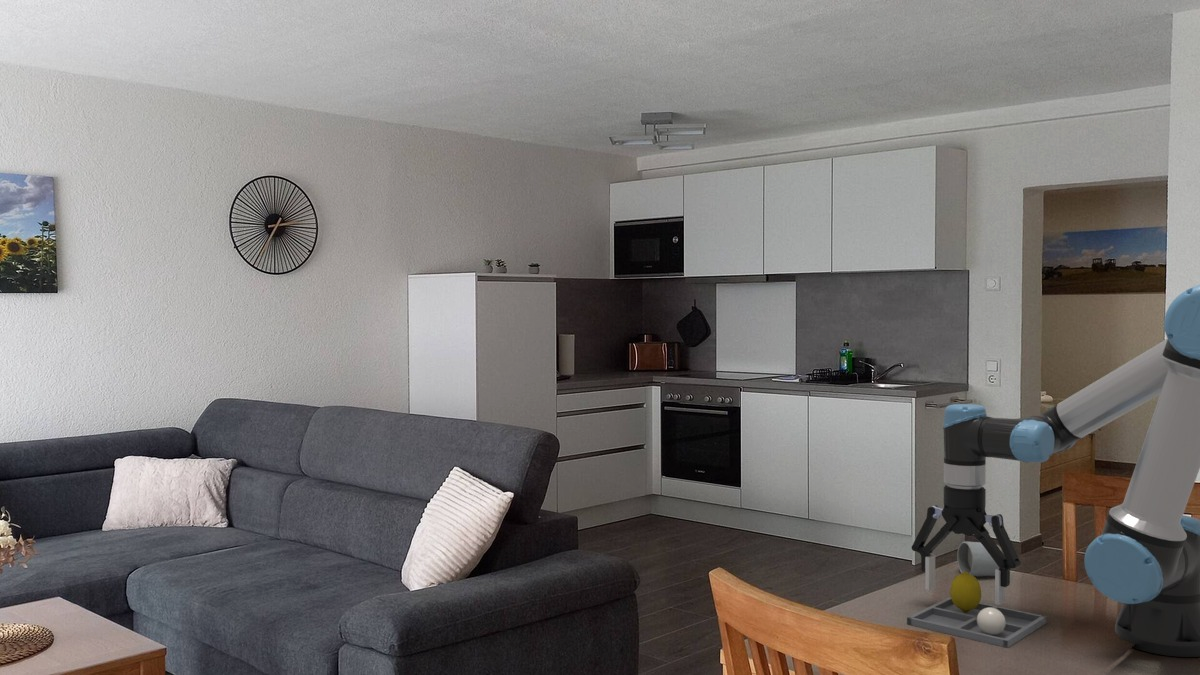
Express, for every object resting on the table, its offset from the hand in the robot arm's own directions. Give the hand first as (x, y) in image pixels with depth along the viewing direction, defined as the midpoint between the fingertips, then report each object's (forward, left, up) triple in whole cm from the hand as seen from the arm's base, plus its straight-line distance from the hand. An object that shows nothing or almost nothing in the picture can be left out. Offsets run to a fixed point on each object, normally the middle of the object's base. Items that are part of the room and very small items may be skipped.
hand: (964, 596), depth 185 cm
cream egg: (-9, +9, -3) cm, 13 cm away
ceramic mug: (+11, -33, -5) cm, 35 cm away
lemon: (0, 0, -4) cm, 4 cm away
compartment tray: (-4, +4, -4) cm, 8 cm away
